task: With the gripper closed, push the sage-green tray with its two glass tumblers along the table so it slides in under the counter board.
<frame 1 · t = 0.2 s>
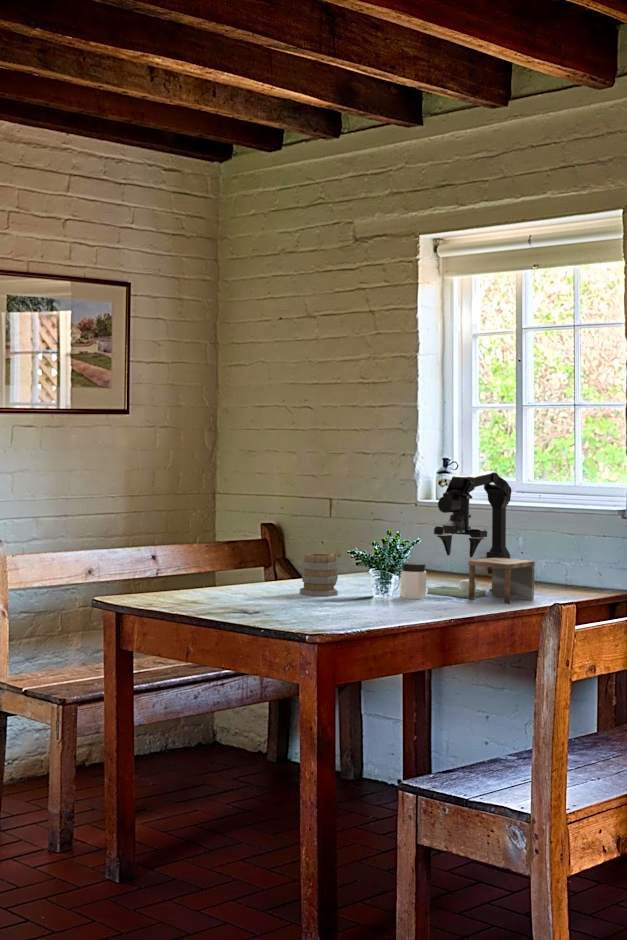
hand: (459, 556, 448), 15 cm above the table, fingers open, 9 cm apart
tray: (456, 594, 457), on the table
jar: (412, 598, 446), on the table
tankard: (324, 593, 452), on the table
counter: (500, 599, 446), on the table
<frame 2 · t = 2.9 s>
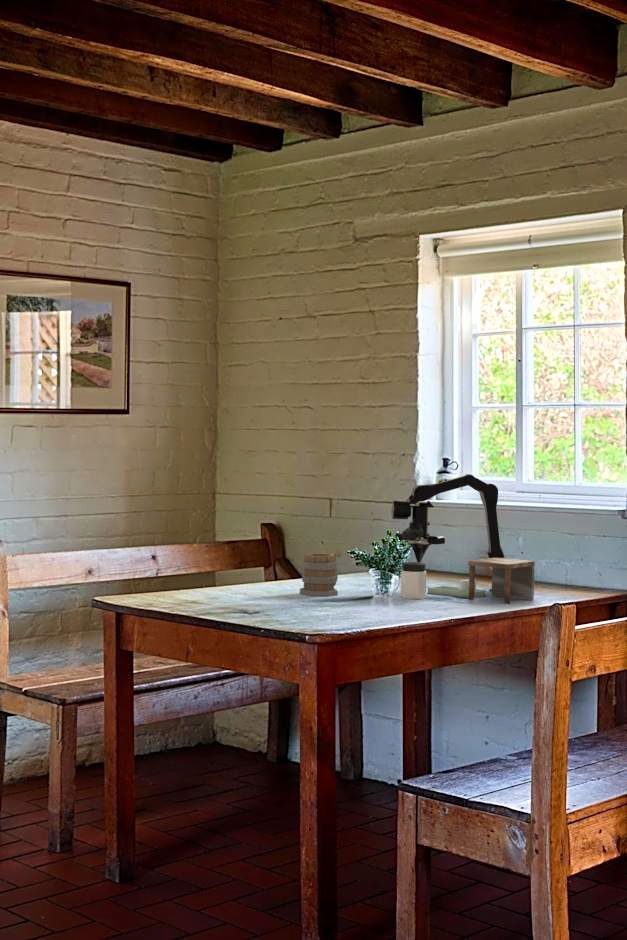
hand: (418, 562, 467), 10 cm above the table, fingers closed
nothing on the table moved.
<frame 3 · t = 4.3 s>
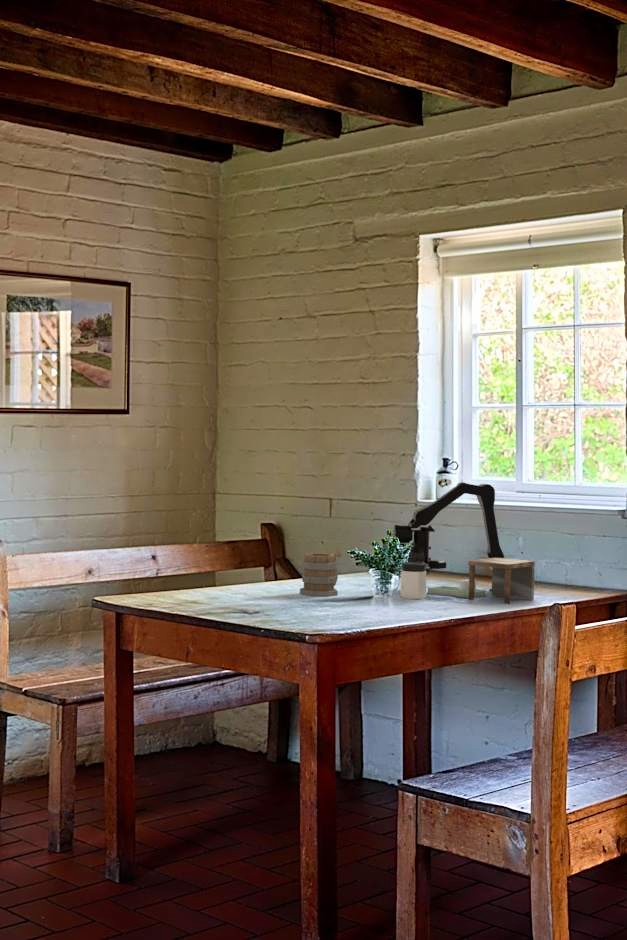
hand: (420, 586, 467), 1 cm above the table, fingers closed
nothing on the table moved.
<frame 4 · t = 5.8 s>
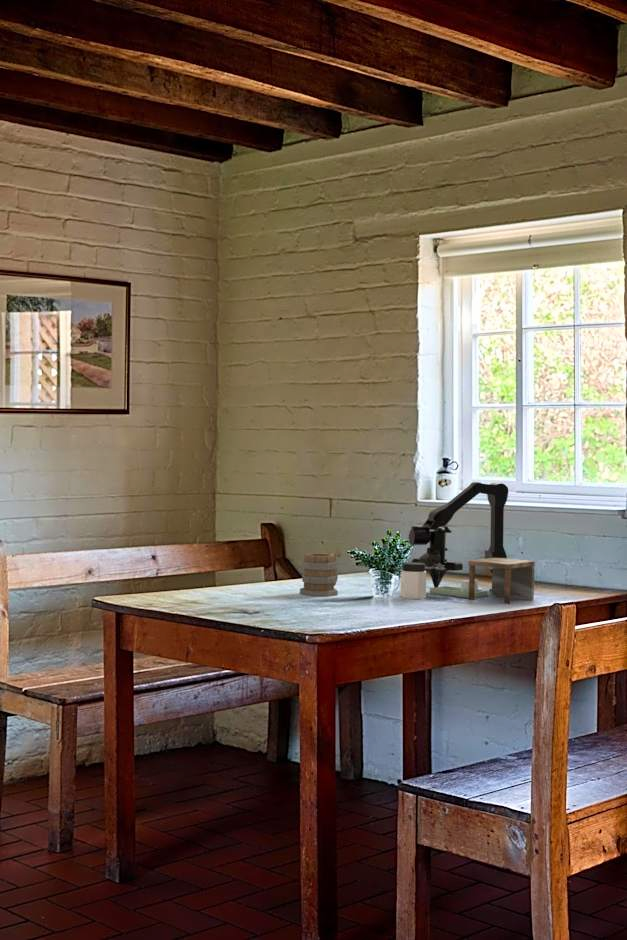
hand: (436, 588, 462), 1 cm above the table, fingers closed
tray: (458, 594, 456), on the table, touching gripper
everything else where it was.
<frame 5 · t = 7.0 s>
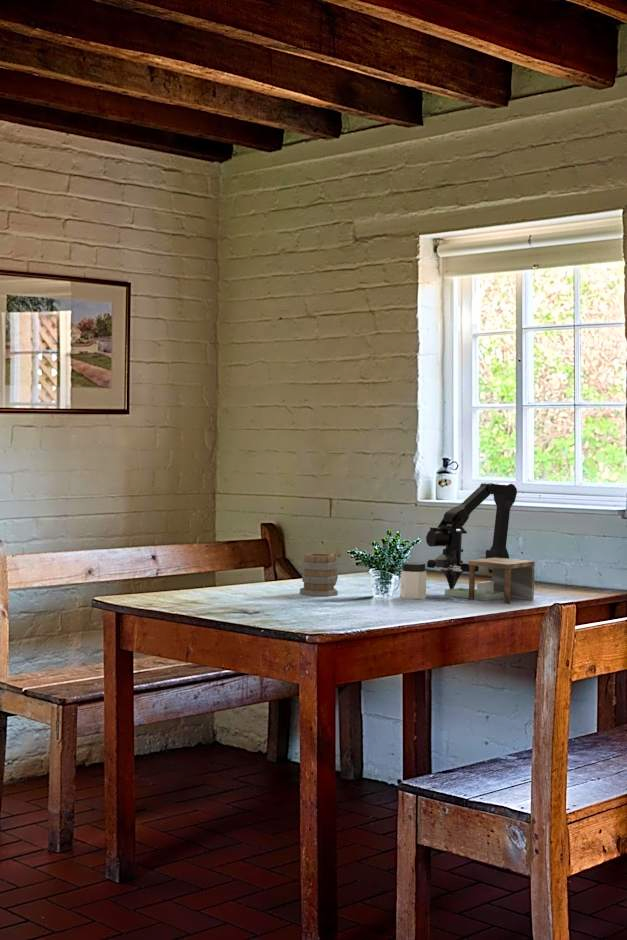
hand: (451, 589, 458), 2 cm above the table, fingers closed
tray: (474, 596, 452), on the table, touching gripper
everything else where it was.
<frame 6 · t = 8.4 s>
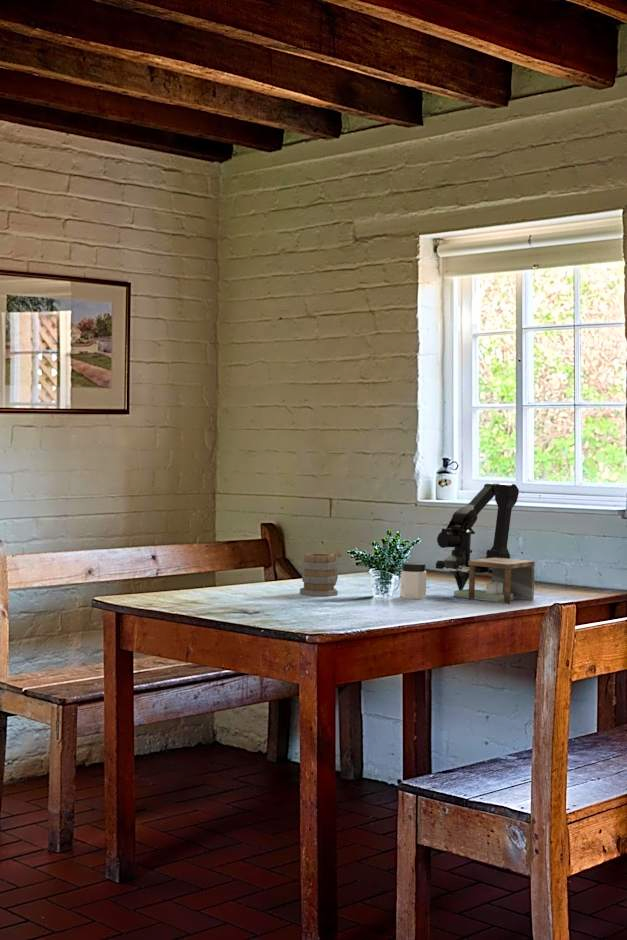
hand: (460, 590, 456), 2 cm above the table, fingers closed
tray: (483, 597, 450), on the table, touching gripper
everything else where it was.
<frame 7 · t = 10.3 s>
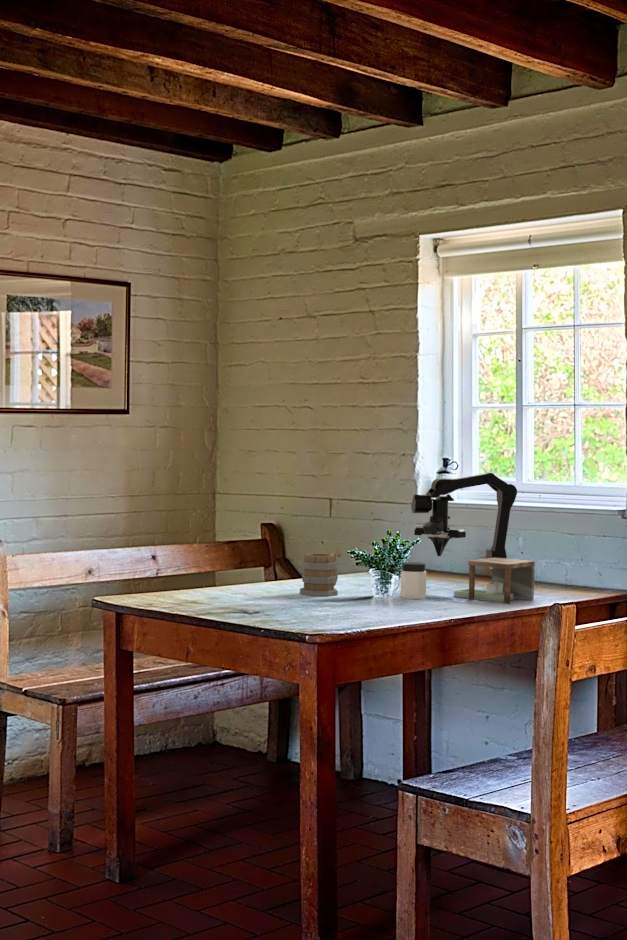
hand: (439, 556, 465), 13 cm above the table, fingers closed
tray: (483, 597, 450), on the table
everything else where it was.
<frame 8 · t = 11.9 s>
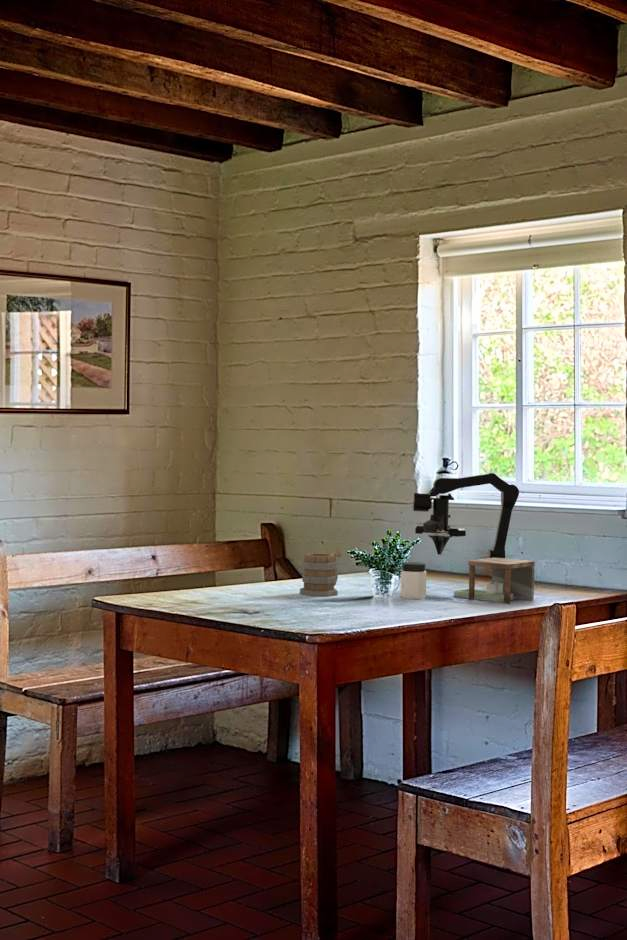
hand: (439, 554, 470), 13 cm above the table, fingers closed
nothing on the table moved.
at the end: tray inside the target area (4.2 cm from its centre), on the table; tray tilted 0°; tray moved 11.3 cm from its start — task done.
